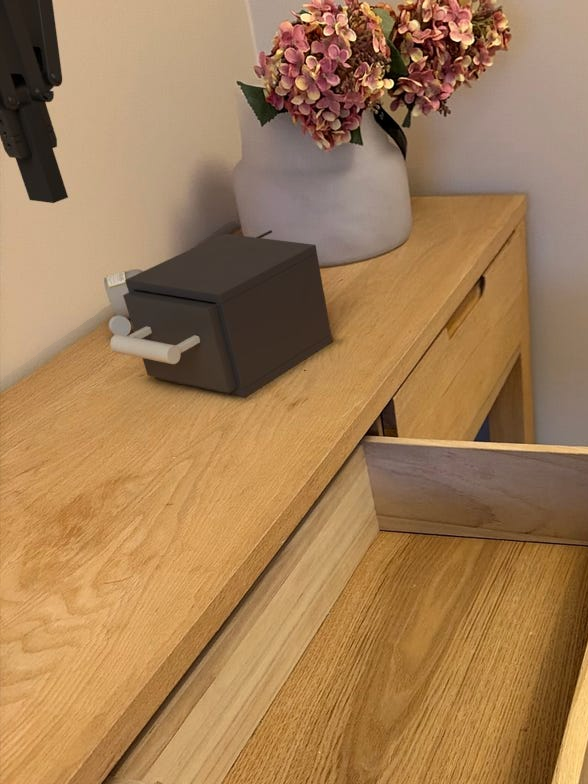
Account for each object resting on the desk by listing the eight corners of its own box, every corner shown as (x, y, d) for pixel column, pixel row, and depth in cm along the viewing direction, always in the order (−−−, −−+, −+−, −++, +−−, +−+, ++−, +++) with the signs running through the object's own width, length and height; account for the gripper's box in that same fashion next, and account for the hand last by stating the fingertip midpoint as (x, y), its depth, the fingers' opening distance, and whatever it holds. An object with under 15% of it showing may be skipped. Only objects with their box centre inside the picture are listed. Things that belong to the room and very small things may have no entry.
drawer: (196, 413, 87) (172, 327, 82) (114, 394, 91) (86, 312, 86) (312, 341, 98) (297, 261, 93) (233, 327, 102) (215, 250, 97)
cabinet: (244, 397, 91) (219, 294, 85) (154, 378, 96) (124, 279, 90) (332, 341, 100) (315, 244, 93) (245, 326, 104) (224, 233, 98)
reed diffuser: (91, 255, 107) (270, 208, 108) (115, 303, 113) (284, 258, 115) (103, 321, 102) (290, 272, 104) (128, 367, 108) (304, 320, 110)
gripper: (-140, -200, 56) (14, 229, 71) (40, -206, 64) (143, 179, 79) (-215, -190, 59) (-53, 219, 74) (-34, -197, 67) (78, 172, 82)
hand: (48, 198), depth 77 cm, fingers closed
